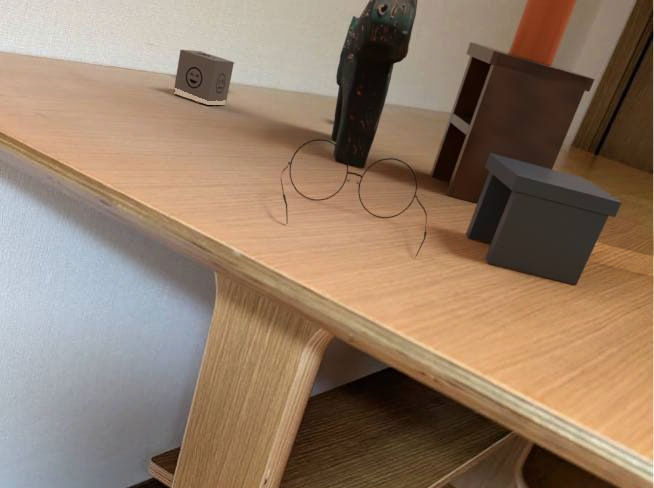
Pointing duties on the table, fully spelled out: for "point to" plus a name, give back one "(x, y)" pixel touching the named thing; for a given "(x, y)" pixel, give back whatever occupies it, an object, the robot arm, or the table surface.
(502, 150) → the tall shelf
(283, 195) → the eyeglasses
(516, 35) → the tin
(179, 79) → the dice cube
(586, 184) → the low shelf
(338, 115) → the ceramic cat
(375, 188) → the table surface
